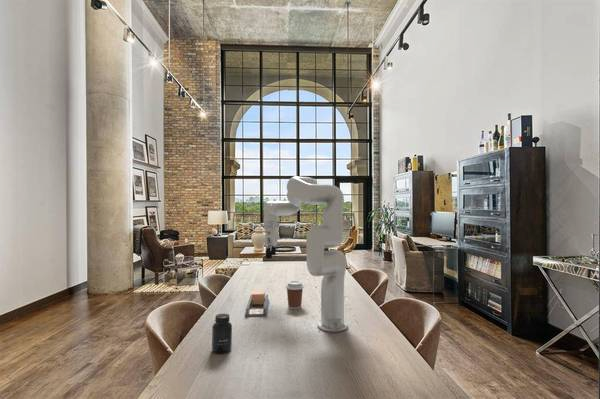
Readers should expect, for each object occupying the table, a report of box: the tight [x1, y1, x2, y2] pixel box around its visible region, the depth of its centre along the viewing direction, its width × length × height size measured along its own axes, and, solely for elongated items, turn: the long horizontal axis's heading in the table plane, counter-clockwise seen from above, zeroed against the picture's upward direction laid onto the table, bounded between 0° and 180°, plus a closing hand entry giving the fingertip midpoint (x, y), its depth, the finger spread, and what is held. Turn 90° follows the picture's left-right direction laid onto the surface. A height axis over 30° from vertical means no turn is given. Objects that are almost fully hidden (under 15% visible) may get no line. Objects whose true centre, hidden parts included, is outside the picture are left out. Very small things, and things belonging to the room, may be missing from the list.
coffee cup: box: [285, 280, 305, 310], centre depth 163 cm, size 9×9×12 cm
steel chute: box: [244, 294, 270, 317], centre depth 161 cm, size 22×10×4 cm, turn 3°
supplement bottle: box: [211, 313, 233, 355], centre depth 116 cm, size 7×7×12 cm
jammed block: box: [251, 290, 266, 305], centre depth 166 cm, size 6×6×5 cm
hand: (270, 256), depth 176 cm, fingers open, 9 cm apart
